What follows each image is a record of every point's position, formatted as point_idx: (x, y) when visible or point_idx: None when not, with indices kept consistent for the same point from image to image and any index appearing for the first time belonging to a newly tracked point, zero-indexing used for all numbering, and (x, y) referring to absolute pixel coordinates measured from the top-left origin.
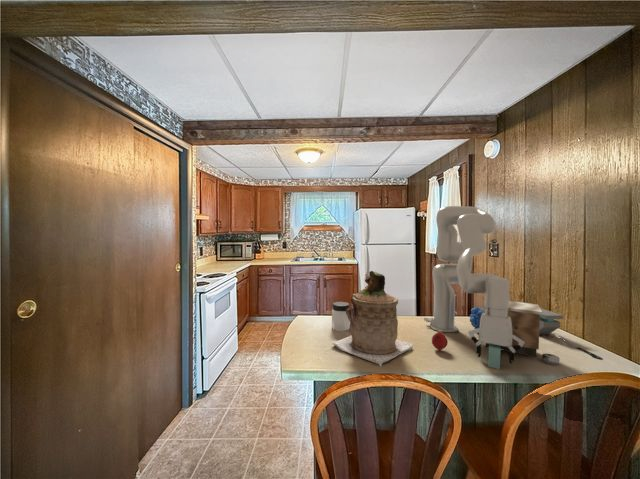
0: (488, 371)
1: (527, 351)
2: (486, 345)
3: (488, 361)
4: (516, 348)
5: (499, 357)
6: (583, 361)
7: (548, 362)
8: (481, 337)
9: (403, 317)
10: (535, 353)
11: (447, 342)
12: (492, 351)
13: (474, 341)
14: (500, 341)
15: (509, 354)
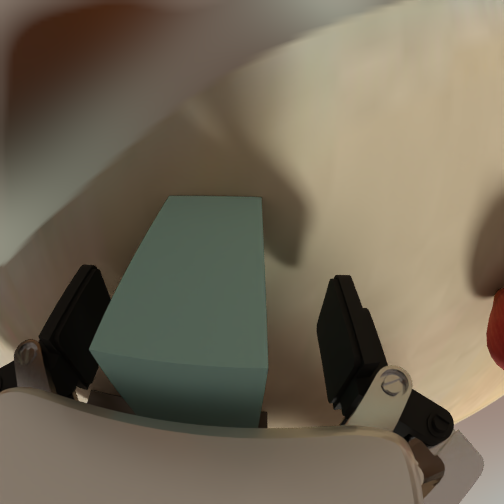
0: (260, 85)
1: (112, 407)
2: (263, 418)
3: (261, 219)
4: (9, 378)
5: (138, 258)
6: None
7: None
8: (399, 492)
9: (460, 420)
10: (90, 400)
11: (500, 338)
12: (211, 310)
13: (419, 403)
14: (72, 471)
15: (79, 336)
